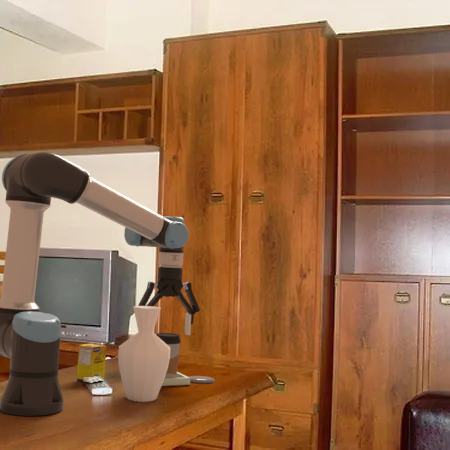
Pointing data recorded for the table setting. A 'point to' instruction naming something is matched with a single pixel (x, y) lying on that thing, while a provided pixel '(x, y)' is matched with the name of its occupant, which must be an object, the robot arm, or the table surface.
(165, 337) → the coffee cup
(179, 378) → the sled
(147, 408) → the table surface
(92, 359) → the supplement box
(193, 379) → the coaster
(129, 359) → the vase
